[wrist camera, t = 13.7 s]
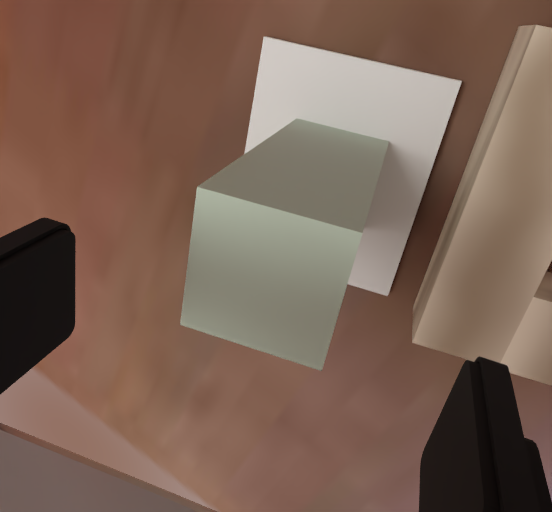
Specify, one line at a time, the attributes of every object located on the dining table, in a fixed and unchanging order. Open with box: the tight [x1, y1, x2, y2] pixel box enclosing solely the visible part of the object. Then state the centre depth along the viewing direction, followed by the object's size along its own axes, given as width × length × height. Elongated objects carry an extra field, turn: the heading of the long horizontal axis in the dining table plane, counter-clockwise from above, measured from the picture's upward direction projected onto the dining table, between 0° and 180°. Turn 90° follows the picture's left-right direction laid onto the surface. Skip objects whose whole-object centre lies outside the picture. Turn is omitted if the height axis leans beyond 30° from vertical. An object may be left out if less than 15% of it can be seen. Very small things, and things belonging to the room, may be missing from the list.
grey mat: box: [245, 37, 462, 296], centre depth 25 cm, size 9×11×1 cm
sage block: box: [180, 118, 389, 371], centre depth 19 cm, size 4×4×12 cm
